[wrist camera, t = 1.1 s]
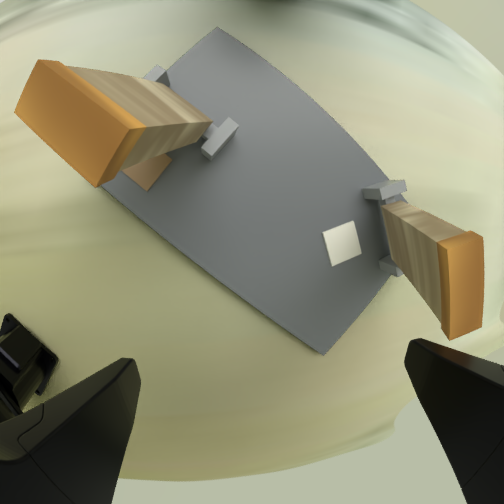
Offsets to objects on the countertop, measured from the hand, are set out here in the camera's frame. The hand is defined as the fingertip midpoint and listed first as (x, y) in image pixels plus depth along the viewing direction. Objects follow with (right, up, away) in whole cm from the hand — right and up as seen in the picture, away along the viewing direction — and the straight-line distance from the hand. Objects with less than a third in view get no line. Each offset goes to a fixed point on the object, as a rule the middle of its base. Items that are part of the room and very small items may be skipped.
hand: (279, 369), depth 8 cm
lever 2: (+10, +5, +11) cm, 16 cm away
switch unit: (+1, +8, +11) cm, 14 cm away
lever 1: (-5, +12, +7) cm, 15 cm away
